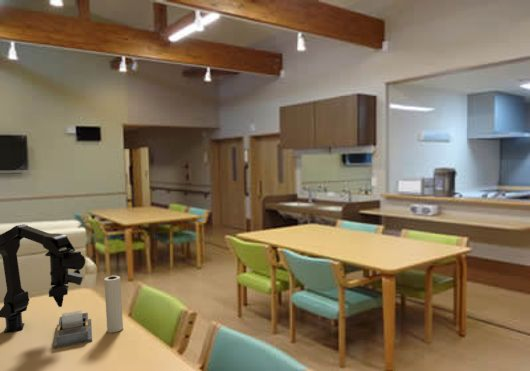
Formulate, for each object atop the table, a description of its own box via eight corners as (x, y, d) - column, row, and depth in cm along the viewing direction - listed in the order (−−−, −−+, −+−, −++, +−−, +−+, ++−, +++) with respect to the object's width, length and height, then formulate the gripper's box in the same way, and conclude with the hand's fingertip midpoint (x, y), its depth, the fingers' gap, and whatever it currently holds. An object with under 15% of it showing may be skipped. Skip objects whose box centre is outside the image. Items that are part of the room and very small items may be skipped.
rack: (57, 327, 167) (56, 317, 167) (91, 321, 172) (90, 311, 172) (53, 348, 148) (52, 337, 148) (92, 341, 153) (91, 330, 153)
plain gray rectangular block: (63, 333, 158) (62, 313, 157) (83, 330, 161) (81, 310, 160) (63, 336, 155) (61, 316, 155) (83, 333, 158) (81, 313, 157)
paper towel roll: (117, 333, 160) (114, 280, 158) (104, 332, 161) (100, 279, 159) (127, 325, 167) (124, 274, 165) (114, 324, 168) (111, 274, 166)
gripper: (81, 271, 152) (82, 311, 154) (81, 259, 169) (83, 296, 171) (47, 275, 148) (49, 316, 149) (51, 262, 165) (53, 299, 166)
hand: (60, 306), depth 159 cm, fingers closed
